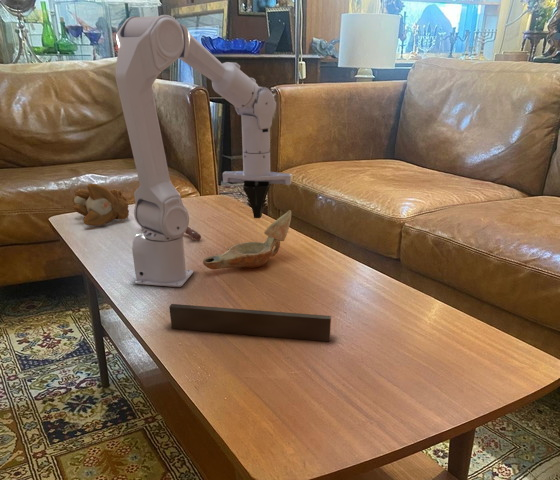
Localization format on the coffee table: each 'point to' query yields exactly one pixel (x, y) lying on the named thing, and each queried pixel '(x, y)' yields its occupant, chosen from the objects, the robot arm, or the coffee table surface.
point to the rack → (251, 322)
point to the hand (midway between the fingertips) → (257, 217)
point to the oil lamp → (253, 248)
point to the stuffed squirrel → (100, 205)
